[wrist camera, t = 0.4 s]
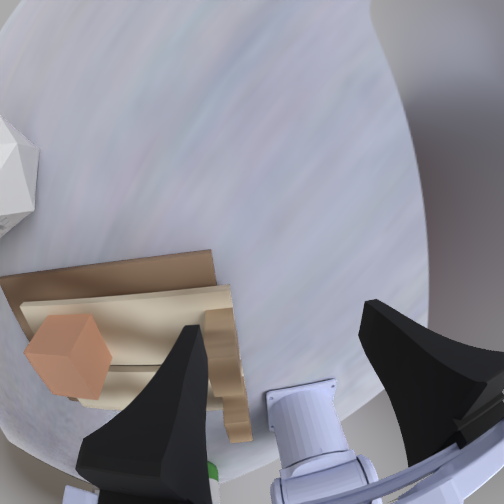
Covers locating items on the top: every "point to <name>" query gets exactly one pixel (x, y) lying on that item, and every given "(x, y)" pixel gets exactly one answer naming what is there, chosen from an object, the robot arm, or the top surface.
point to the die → (16, 176)
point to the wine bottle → (214, 483)
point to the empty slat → (137, 377)
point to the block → (70, 355)
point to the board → (109, 281)
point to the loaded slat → (159, 327)
